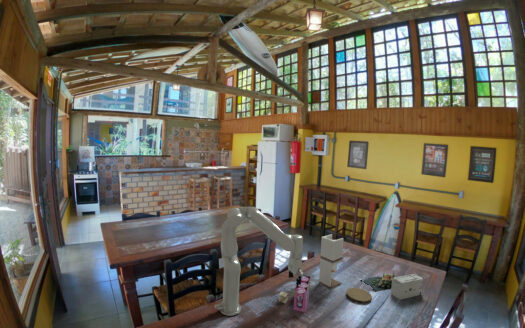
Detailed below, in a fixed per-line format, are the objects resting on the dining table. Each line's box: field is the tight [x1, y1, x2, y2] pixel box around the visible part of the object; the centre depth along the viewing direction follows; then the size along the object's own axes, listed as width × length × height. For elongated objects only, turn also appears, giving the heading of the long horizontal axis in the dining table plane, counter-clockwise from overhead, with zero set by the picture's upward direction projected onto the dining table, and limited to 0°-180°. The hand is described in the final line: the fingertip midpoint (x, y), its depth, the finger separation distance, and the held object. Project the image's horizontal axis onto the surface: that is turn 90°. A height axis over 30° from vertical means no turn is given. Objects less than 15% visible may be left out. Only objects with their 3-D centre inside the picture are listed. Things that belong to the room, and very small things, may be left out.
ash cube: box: [278, 291, 289, 304], centre depth 173 cm, size 4×4×4 cm
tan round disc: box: [345, 287, 373, 305], centre depth 180 cm, size 16×16×3 cm
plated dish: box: [363, 271, 395, 293], centre depth 201 cm, size 35×28×7 cm
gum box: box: [293, 274, 311, 313], centre depth 172 cm, size 22×7×13 cm, turn 163°
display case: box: [318, 233, 344, 290], centre depth 195 cm, size 11×11×35 cm
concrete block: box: [390, 271, 424, 300], centre depth 184 cm, size 21×8×20 cm, turn 111°
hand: (294, 280), depth 171 cm, fingers open, 9 cm apart
